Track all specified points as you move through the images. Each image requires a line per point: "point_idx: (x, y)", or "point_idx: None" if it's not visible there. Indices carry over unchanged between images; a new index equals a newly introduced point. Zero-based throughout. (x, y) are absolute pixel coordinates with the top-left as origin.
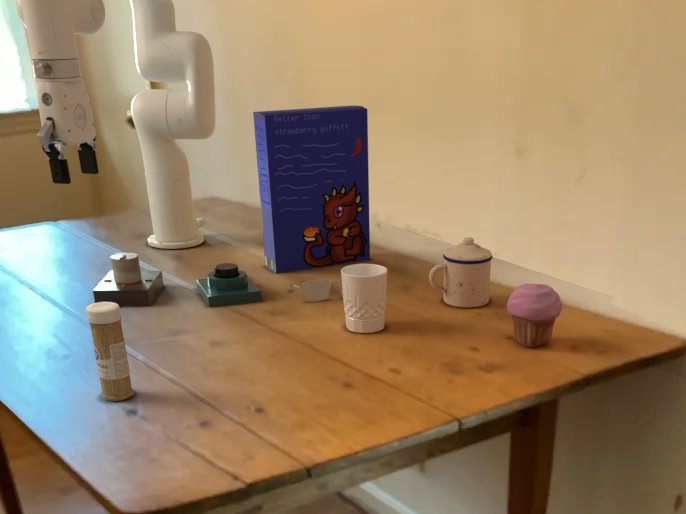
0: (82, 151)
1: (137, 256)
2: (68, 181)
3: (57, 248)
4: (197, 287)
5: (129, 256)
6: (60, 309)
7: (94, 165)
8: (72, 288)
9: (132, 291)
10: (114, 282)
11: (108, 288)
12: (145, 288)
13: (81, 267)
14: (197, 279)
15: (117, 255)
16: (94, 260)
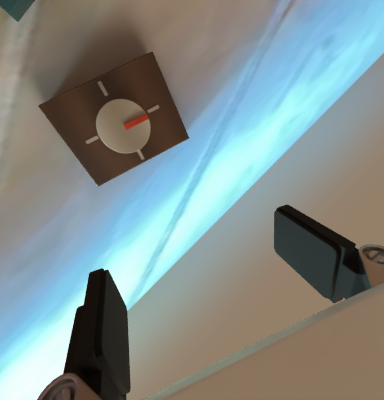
0: (121, 381)
1: (111, 100)
2: (289, 207)
3: (12, 358)
4: (19, 15)
5: (121, 115)
6: (206, 167)
7: (106, 291)
8: (136, 215)
9: (163, 79)
10: None
11: (171, 124)
12: (145, 62)
13: (58, 275)
14: (8, 8)
15: (128, 142)
16: (17, 289)
